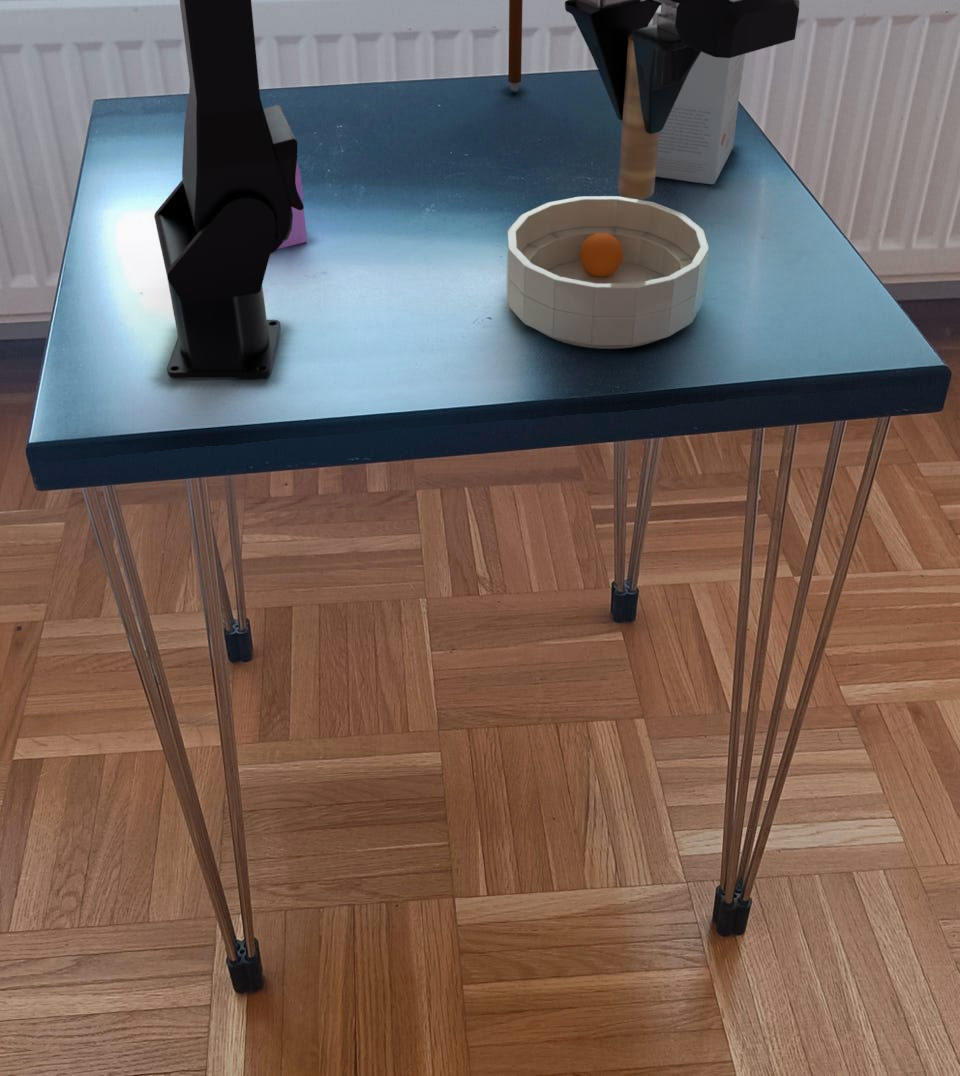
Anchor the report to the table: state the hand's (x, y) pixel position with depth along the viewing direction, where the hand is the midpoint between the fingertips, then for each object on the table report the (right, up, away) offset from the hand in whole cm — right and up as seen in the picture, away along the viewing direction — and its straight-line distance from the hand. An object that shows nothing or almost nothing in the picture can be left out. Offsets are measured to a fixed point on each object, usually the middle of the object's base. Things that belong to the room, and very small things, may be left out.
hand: (640, 125), depth 79 cm
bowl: (-2, -10, +6) cm, 12 cm away
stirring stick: (0, -3, +3) cm, 5 cm away
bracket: (-29, -2, +17) cm, 34 cm away
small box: (+7, +5, +25) cm, 26 cm away
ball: (-2, -7, +7) cm, 10 cm away
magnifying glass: (-7, +15, +37) cm, 41 cm away
